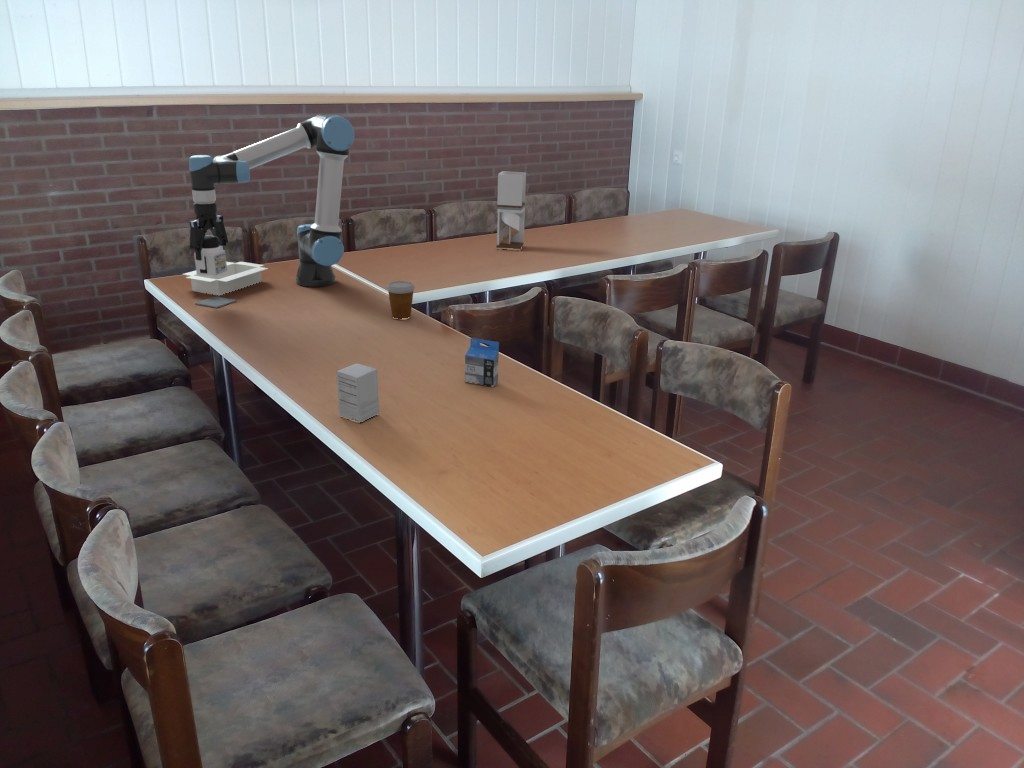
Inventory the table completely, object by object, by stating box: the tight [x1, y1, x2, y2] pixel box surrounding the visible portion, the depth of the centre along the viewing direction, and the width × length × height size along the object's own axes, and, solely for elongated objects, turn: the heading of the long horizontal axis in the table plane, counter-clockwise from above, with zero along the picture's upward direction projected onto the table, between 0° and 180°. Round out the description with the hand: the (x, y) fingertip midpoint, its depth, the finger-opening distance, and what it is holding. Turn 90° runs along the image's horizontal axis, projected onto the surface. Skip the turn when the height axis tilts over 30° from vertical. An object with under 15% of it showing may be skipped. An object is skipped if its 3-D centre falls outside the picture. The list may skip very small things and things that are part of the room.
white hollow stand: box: [496, 170, 527, 250], centre depth 386 cm, size 11×11×35 cm
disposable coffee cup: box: [386, 280, 415, 319], centre depth 283 cm, size 10×10×12 cm
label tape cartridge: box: [464, 337, 500, 388], centre depth 229 cm, size 9×4×12 cm, turn 69°
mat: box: [194, 295, 237, 309], centre depth 296 cm, size 10×10×1 cm
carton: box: [182, 261, 269, 297], centre depth 315 cm, size 21×29×6 cm
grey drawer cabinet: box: [336, 363, 380, 422], centre depth 205 cm, size 7×7×13 cm
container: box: [193, 235, 227, 276], centre depth 289 cm, size 8×8×13 cm
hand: (211, 266), depth 291 cm, fingers closed on container, 9 cm apart
